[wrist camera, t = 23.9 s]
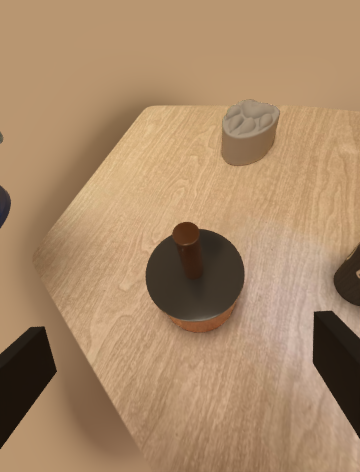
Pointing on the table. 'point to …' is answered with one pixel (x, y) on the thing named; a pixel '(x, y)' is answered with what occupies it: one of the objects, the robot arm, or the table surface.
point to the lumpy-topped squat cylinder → (248, 131)
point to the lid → (194, 274)
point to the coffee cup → (349, 278)
